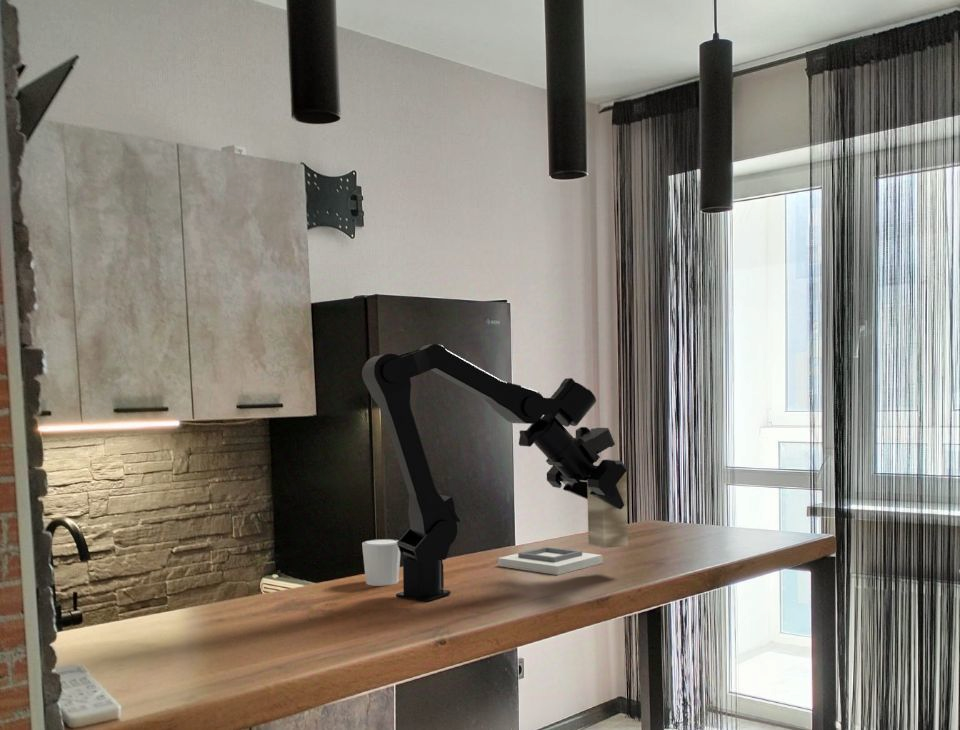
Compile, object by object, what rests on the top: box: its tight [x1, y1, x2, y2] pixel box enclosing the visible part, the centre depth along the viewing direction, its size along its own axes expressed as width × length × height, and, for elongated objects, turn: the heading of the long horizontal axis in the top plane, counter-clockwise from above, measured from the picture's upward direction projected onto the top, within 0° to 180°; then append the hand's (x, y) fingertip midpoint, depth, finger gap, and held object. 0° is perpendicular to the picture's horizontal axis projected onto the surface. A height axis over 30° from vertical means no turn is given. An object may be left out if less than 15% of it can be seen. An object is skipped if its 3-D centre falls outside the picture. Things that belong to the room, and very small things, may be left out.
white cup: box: [361, 538, 401, 587], centre depth 147 cm, size 7×7×7 cm
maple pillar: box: [587, 471, 629, 549], centre depth 150 cm, size 5×5×13 cm
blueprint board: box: [497, 546, 603, 576], centre depth 160 cm, size 14×14×2 cm
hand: (613, 505), depth 151 cm, fingers closed on maple pillar, 5 cm apart
